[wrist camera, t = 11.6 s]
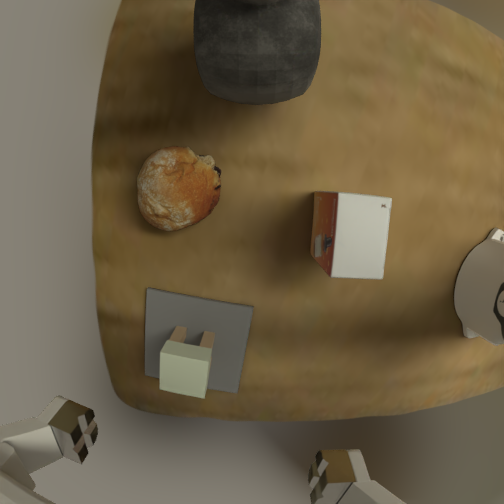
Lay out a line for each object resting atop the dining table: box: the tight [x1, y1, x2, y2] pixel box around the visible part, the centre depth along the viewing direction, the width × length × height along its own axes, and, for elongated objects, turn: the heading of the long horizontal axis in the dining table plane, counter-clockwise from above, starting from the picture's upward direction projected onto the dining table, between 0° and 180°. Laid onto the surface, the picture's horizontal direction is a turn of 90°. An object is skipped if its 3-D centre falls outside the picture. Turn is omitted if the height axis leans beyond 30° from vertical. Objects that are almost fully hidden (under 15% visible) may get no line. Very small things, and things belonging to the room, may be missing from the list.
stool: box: [160, 326, 215, 398], centre depth 35 cm, size 6×6×8 cm
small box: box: [310, 191, 392, 279], centre depth 31 cm, size 8×6×10 cm
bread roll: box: [137, 146, 221, 231], centre depth 33 cm, size 10×10×8 cm
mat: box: [145, 287, 253, 393], centre depth 39 cm, size 14×14×1 cm
